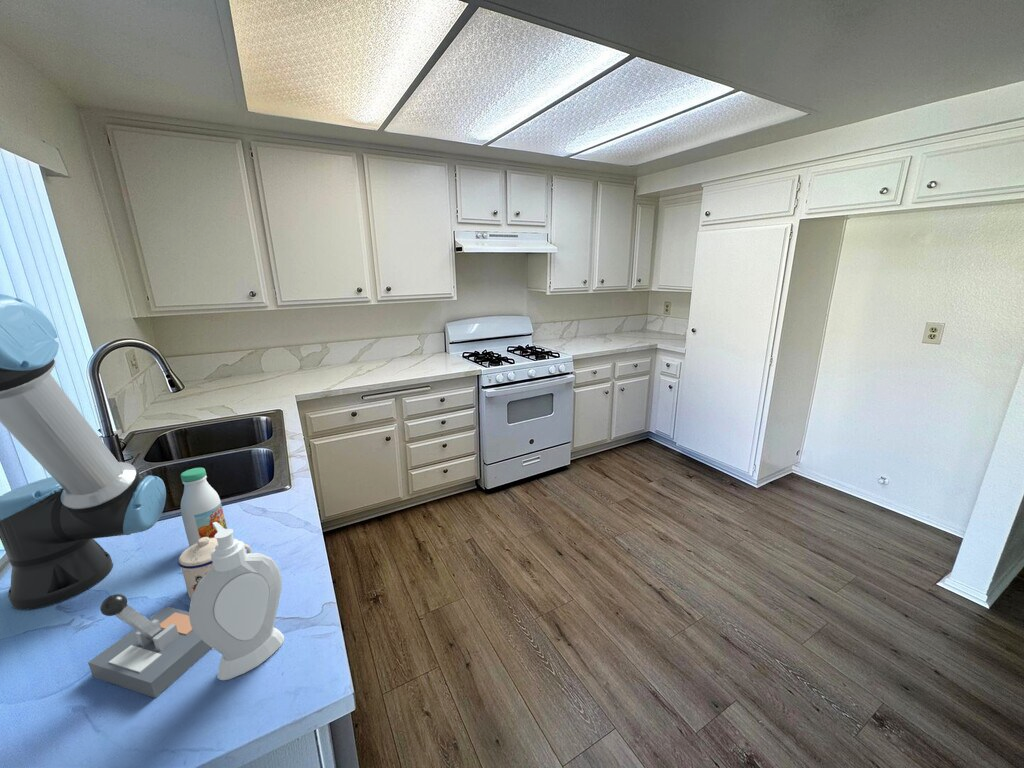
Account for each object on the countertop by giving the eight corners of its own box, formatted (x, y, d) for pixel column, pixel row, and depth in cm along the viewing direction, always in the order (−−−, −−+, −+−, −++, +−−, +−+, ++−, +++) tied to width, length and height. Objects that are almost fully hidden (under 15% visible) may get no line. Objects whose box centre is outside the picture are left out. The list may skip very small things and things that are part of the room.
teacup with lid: (191, 611, 80) (177, 560, 77) (184, 587, 86) (171, 539, 83) (260, 579, 88) (250, 532, 85) (249, 560, 94) (240, 515, 91)
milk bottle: (188, 560, 94) (168, 482, 89) (193, 542, 101) (174, 469, 96) (228, 548, 98) (211, 473, 93) (230, 532, 105) (214, 461, 100)
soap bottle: (280, 618, 77) (257, 504, 71) (298, 640, 72) (275, 519, 66) (198, 667, 68) (163, 540, 62) (212, 696, 63) (176, 561, 57)
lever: (159, 649, 68) (104, 612, 61) (146, 645, 69) (90, 608, 61) (175, 630, 71) (123, 592, 63) (162, 627, 71) (110, 588, 64)
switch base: (155, 698, 63) (146, 670, 62) (93, 676, 67) (83, 650, 65) (226, 634, 74) (220, 609, 73) (169, 619, 78) (163, 595, 76)
